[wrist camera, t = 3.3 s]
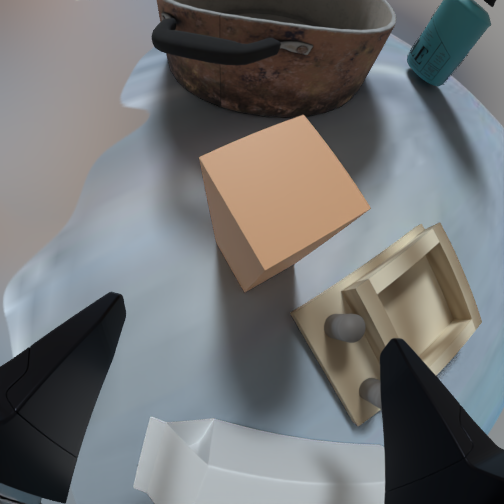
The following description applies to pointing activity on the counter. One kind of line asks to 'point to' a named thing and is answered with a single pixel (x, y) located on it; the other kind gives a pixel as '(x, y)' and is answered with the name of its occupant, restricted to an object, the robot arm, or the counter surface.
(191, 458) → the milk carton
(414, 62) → the beverage bottle
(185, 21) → the cooking pot
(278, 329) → the counter surface
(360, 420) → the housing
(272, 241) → the block
